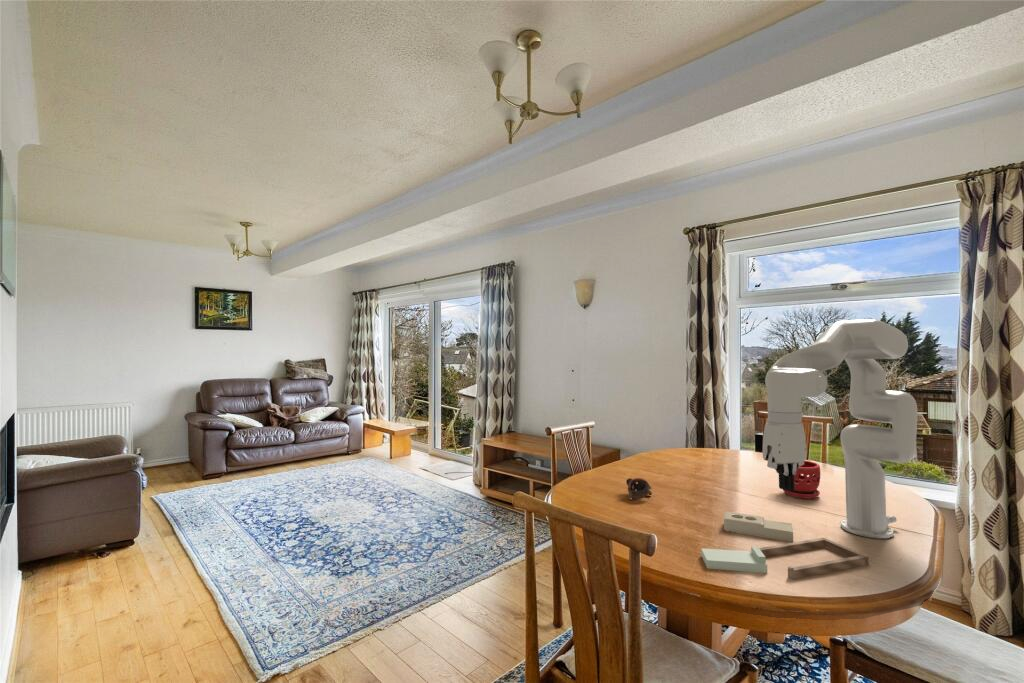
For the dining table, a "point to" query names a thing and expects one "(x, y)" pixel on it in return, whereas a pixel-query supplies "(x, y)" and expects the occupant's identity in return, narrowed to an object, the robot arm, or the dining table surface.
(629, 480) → the dark turtle figurine
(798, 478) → the plant pot
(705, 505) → the dining table surface
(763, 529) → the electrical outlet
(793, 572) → the brown u-shaped frame
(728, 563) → the cover plate
